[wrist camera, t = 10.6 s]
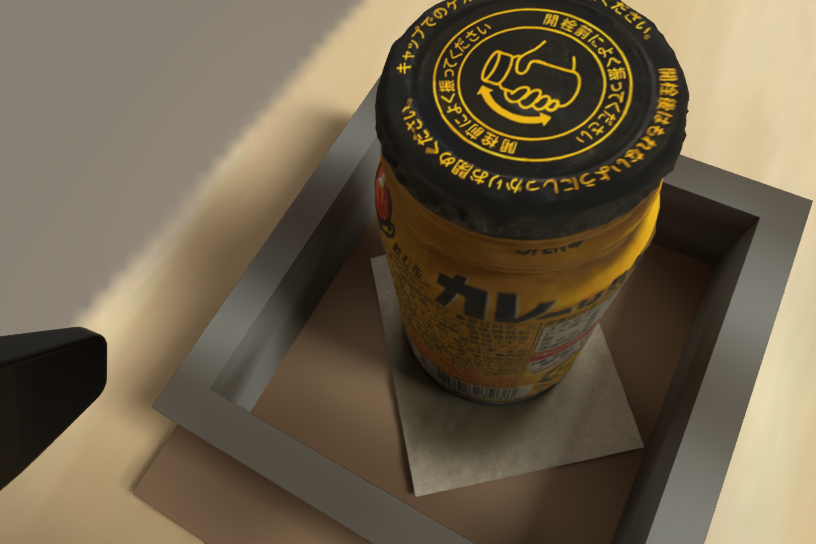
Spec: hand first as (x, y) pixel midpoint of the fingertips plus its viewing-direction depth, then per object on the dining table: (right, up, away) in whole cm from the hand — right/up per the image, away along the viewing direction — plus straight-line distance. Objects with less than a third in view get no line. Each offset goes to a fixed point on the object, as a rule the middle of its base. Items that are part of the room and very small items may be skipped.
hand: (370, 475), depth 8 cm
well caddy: (+3, 0, +13) cm, 13 cm away
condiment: (+4, 0, +12) cm, 13 cm away
